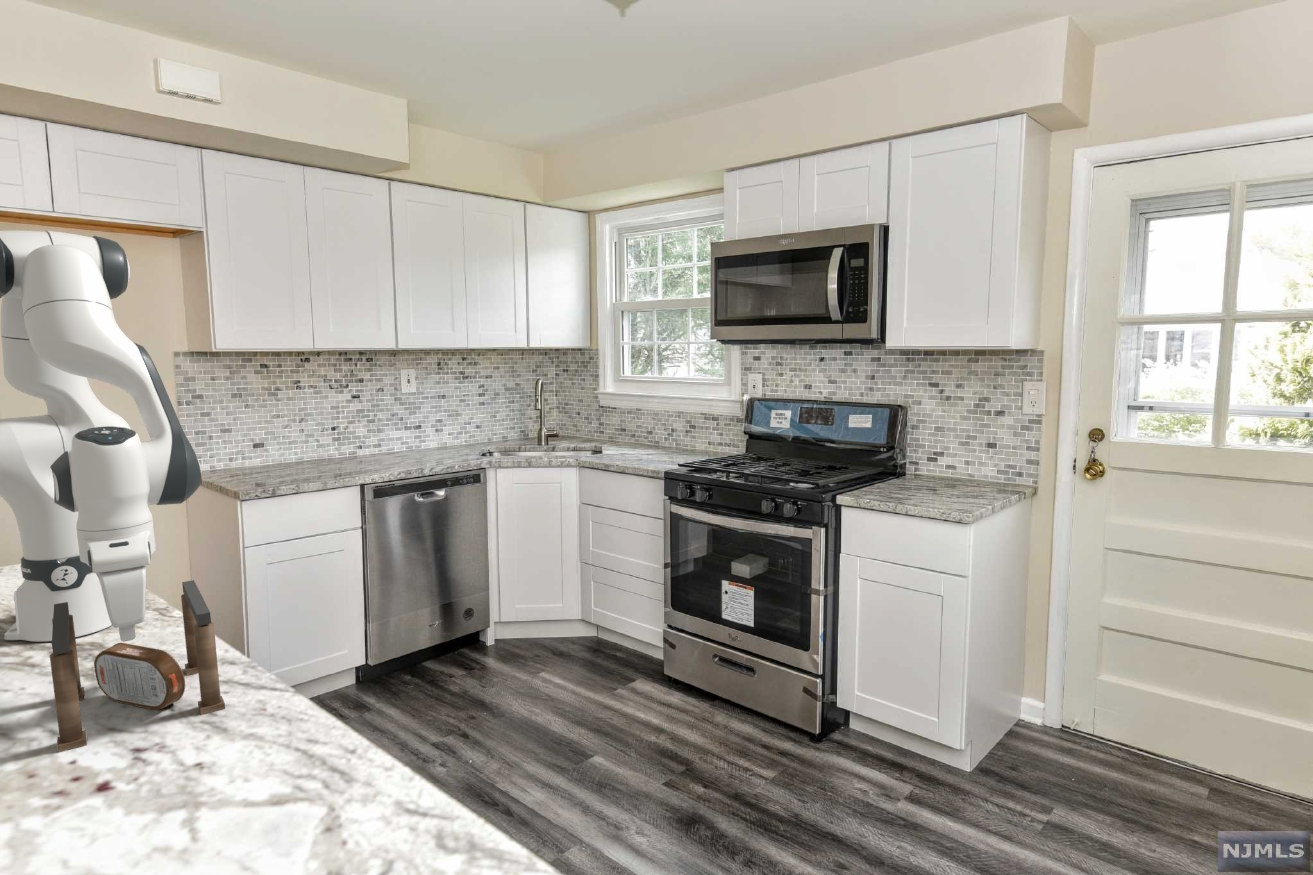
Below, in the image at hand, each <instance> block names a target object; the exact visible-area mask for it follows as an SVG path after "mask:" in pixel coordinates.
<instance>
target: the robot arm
mask: <svg viewBox="0 0 1313 875" xmlns="http://www.w3.org/2000/svg"><path fill="white" fill-rule="evenodd" d="M130 278H131V267H130V262H129V260H128V257H127V254H126V252H125V250H124V248H123V247H122V246H121V244H119V242H117V241H115V240H112V239H109V238H107V237H102V236H97V235H93V236H92V237H91V236H87V235H80V234H75V233H68V232H64V231H63V232H62V231H54V230H45V231H39V230H21V229H20V230H15V229H14V230H0V299H1V307H0V308H1V309H0V335H1V336H0V338H1V348H2V351H1V352H2V362H3V363H2V364H3V374H4V378H5V380H6V381H7V383H8V384H9V385H10V386H11V387H12V388H14V389H15V390H16V391H19V392H21V393H24V394H26V395H28V396H32V397H34V398H35V397H36V398H37V399H41V400H43V401H44V402H45V405H46V408H47V413H46V414H43V415H34V416H32V415H31V416H20V417H7V418H0V497H1V498H2V499H3V500H4V501H5V502H6V503H7V504H8V506H9V508H10V509H11V510H12V512H13V514H14V517H15V520H16V523H17V527H18V531H19V536H20V543H21V547H22V555H23V556H22V557H21V558H20V571H21V575H22V578H23V579H24V580H23V582H22V583H21V584H20V585H19V586H18V587H17V589H16V590H15V591H14V593H13V602H14V610H15V622H14V623H13V624H12V625H11V626H10V627H9V629H8V630H7V631H6V632H5V633H4V640H5V641H28V642H37V643H38V642H52V630H53V624H52V619H53V613H54V604H59V603H64V602H68V608H69V615H73V622H74V631H75V638H79V637H81V636H86V635H90V634H93V633H95V632H99V631H101V630H104V629H107V628H109V627H111V626H112V627H113V628H115V629H118V633H119V634H118V635H119V639H120V641H121V642H122V643H126V642H129V641H133V640H135V639H136V637H137V636H136V635H137V634H136V625H139V624H142V623H143V622H144V621H145V616H146V608H147V606H146V604H147V603H146V601H147V600H146V599H147V597H146V596H147V566H150V565H151V561H152V560H151V559H152V555H153V553H154V552H156V550H157V549H156V548H157V546H156V538H155V528H154V526H155V525H154V518H153V513H152V512H151V509H150V507H149V506H153V505H154V506H155V505H156V506H164V505H165V506H166V505H179V504H183V503H184V502H186V501H188V499H189V498H191V496H192V495H194V493H196V492H197V490H198V489H199V487H201V484H202V466H201V464H200V460H199V458H198V456H197V454H196V452H195V449H194V448H193V445H192V443H191V442H190V440H189V439H188V437H187V435H186V432H184V430H183V427H182V425H181V423H180V420H179V418H178V415H177V413H176V410H175V408H174V406H173V403H172V402H171V399H170V396H169V394H168V392H167V390H166V386H165V385H164V382H163V379H162V378H161V376H160V373H159V371H158V370H157V367H156V365H155V363H154V361H153V359H152V358H151V356H150V354H149V352H148V351H147V350H146V347H144V346H143V345H141V344H138V343H136V342H134V341H132V340H131V339H130V338H129V337H128V336H127V335H126V334H125V333H124V332H123V331H122V328H120V326H119V325H118V323H117V321H116V318H115V314H114V309H113V304H112V300H113V299H116V298H118V297H120V296H122V295H123V294H124V293H125V292H126V291H127V289H128V283H129V282H130ZM88 379H91V380H95V381H100V382H102V383H106V384H109V385H112V386H115V387H117V388H119V389H121V390H122V391H125V393H127V394H129V395H130V396H131V398H132V399H133V400H134V402H135V404H136V407H137V409H138V411H139V414H140V417H141V419H142V421H143V423H144V426H145V428H146V430H147V433H148V436H149V437H150V440H149V441H144V442H141V439H140V436H139V434H138V432H136V431H135V430H133V429H132V428H131V426H130V424H129V423H128V422H127V421H126V419H124V418H123V417H122V416H121V415H120V414H118V413H116V412H114V411H113V410H110V409H109V408H108V407H107V406H105V405H104V404H103V403H102V402H101V401H100V400H99V399H98V397H97V396H96V394H95V393H94V391H93V390H92V387H91V384H90V382H89V380H88Z"/></svg>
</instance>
